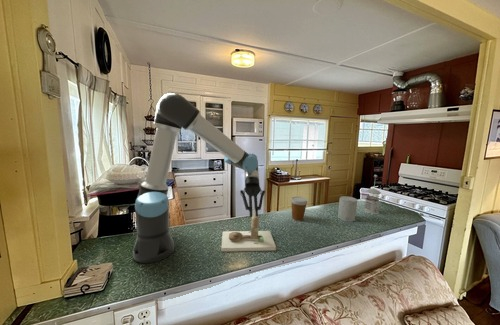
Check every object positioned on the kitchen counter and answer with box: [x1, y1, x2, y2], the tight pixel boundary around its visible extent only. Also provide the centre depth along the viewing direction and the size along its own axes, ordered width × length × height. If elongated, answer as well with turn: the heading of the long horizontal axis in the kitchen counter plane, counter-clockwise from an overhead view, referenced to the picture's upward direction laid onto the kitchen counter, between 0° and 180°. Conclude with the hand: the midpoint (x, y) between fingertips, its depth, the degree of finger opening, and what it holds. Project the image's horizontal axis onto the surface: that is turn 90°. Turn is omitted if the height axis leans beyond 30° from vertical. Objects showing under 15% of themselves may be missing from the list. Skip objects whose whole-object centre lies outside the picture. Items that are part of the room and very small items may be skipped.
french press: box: [362, 174, 382, 215], centre depth 130 cm, size 10×12×25 cm
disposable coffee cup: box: [290, 196, 308, 222], centre depth 117 cm, size 10×10×12 cm
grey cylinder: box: [337, 195, 358, 223], centre depth 120 cm, size 10×10×12 cm
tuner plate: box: [220, 230, 277, 252], centre depth 91 cm, size 23×14×2 cm, turn 95°
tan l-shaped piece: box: [229, 215, 262, 241], centre depth 90 cm, size 15×6×10 cm, turn 89°
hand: (254, 223), depth 92 cm, fingers closed
